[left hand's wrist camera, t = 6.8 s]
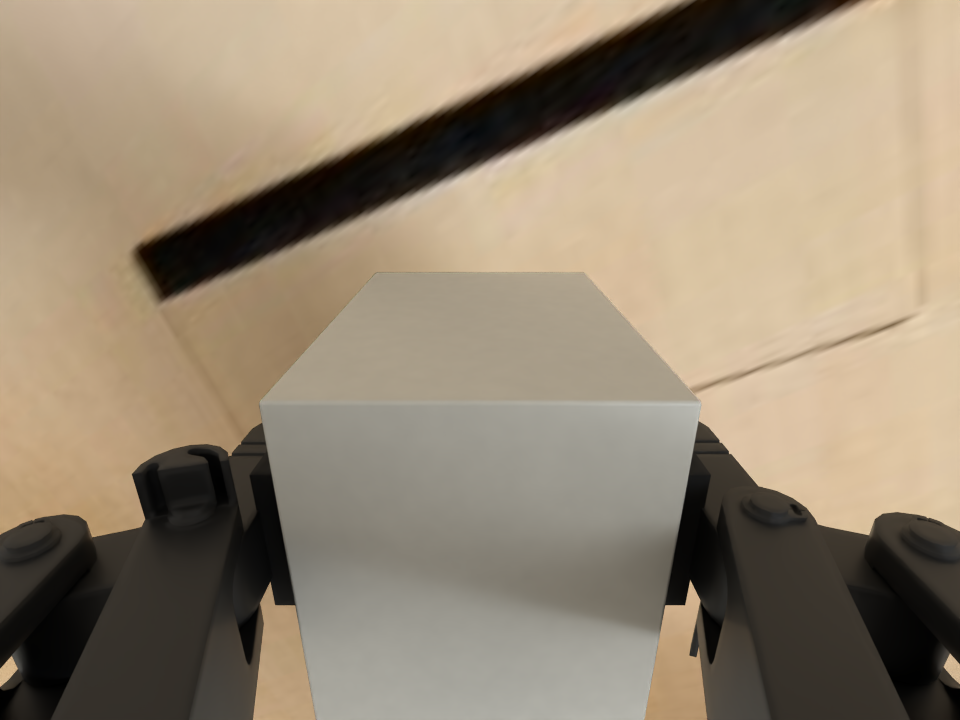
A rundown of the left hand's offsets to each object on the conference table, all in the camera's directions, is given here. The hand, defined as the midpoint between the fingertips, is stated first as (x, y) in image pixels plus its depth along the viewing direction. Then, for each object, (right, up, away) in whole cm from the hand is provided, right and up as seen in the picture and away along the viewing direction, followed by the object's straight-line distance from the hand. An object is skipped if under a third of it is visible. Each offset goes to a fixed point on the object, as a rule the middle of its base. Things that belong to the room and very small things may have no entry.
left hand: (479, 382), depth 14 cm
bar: (0, -8, +4) cm, 9 cm away
